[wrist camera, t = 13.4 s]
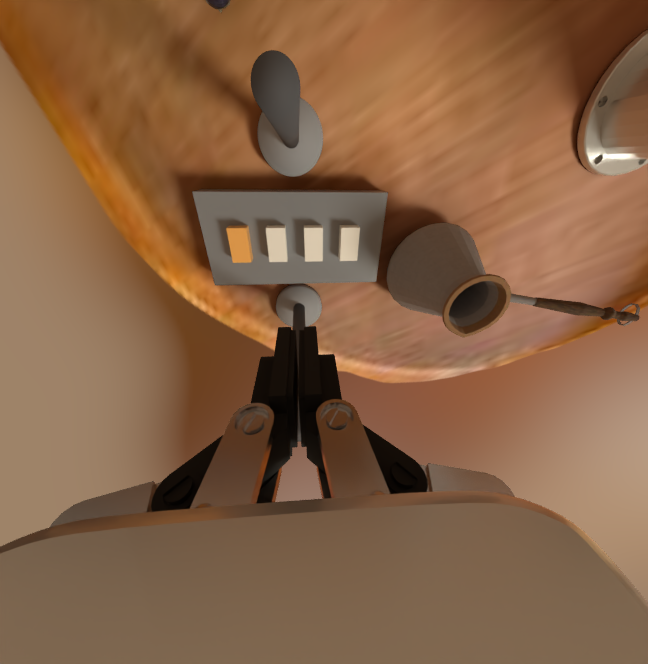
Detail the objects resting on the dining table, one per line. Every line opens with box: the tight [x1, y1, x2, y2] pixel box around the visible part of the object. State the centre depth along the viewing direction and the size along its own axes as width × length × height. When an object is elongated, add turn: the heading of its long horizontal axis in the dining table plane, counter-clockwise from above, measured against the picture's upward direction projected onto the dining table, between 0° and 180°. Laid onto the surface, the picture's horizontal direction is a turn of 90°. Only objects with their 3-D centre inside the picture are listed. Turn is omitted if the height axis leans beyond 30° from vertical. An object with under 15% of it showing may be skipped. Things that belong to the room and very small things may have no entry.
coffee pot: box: [387, 223, 640, 337], centre depth 29 cm, size 21×12×15 cm, turn 87°
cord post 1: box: [251, 50, 323, 177], centre depth 17 cm, size 6×6×21 cm
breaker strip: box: [192, 189, 388, 285], centre depth 29 cm, size 20×10×4 cm, turn 89°
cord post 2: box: [276, 284, 322, 441], centre depth 28 cm, size 6×6×21 cm
